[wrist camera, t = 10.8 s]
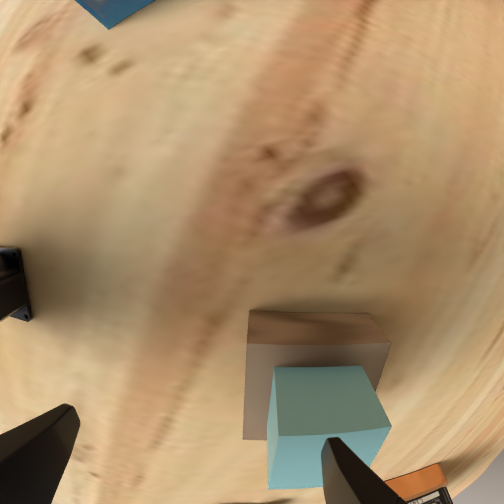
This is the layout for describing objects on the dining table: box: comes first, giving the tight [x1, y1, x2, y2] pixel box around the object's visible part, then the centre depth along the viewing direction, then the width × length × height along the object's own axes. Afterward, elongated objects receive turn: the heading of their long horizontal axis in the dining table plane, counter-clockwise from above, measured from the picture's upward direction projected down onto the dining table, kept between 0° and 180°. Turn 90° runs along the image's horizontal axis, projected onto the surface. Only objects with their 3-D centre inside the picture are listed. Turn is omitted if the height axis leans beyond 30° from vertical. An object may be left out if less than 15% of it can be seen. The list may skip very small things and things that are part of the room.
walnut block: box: [243, 311, 391, 440], centre depth 17 cm, size 8×8×4 cm
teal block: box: [267, 365, 392, 489], centre depth 13 cm, size 5×5×5 cm
